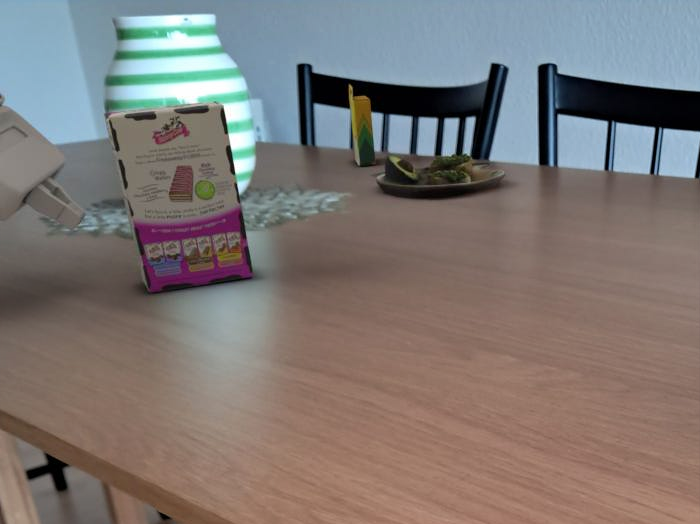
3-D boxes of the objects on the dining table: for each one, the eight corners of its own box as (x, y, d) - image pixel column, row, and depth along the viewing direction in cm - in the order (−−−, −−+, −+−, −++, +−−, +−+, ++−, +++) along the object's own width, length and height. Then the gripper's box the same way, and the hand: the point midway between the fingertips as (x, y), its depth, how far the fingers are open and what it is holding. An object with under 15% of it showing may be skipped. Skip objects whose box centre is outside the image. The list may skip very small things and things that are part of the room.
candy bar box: (244, 268, 111) (216, 100, 102) (255, 278, 107) (226, 103, 98) (140, 283, 107) (101, 110, 98) (147, 294, 103) (107, 114, 94)
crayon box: (376, 165, 168) (369, 85, 161) (358, 166, 167) (350, 87, 161) (372, 159, 174) (364, 82, 167) (354, 160, 173) (347, 83, 167)
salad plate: (453, 171, 159) (451, 138, 157) (535, 180, 148) (534, 146, 146) (356, 190, 148) (352, 156, 146) (437, 202, 137) (434, 165, 135)
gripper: (-72, 107, 87) (74, 219, 93) (-5, 83, 104) (115, 179, 110) (-106, 166, 89) (38, 272, 96) (-35, 133, 106) (84, 225, 112)
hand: (80, 222), depth 103 cm, fingers closed
